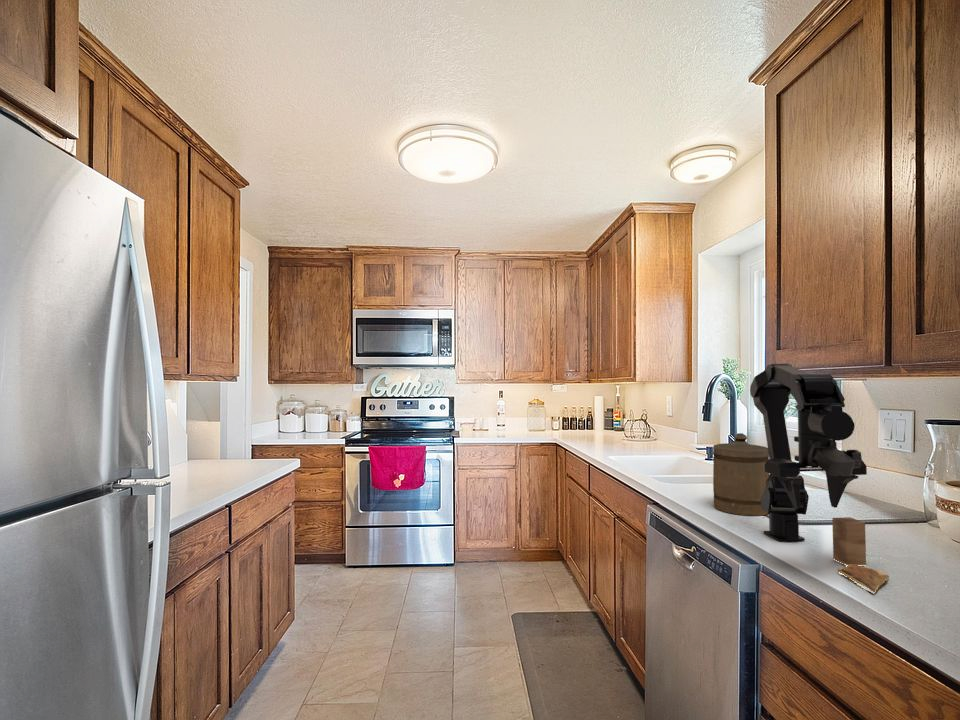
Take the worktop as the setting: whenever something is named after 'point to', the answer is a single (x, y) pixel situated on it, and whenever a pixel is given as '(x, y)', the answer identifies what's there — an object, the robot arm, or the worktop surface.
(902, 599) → the worktop surface
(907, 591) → the worktop surface
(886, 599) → the worktop surface
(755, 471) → the wooden container
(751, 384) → the robot arm
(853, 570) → the shard
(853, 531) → the walnut block
